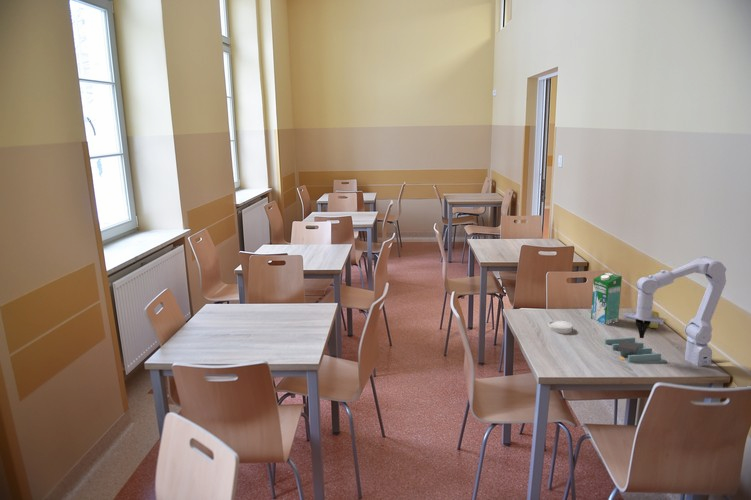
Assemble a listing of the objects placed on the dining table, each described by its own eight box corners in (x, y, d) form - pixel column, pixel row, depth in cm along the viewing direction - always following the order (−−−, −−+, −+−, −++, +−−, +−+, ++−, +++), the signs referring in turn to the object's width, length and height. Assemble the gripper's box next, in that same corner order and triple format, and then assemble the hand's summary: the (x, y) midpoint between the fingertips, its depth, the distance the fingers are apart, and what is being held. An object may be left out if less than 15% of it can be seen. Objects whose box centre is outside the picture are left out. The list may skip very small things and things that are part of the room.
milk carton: (590, 321, 266) (593, 274, 261) (603, 318, 270) (607, 271, 264) (604, 327, 258) (608, 278, 253) (618, 324, 262) (622, 275, 256)
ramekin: (552, 328, 258) (553, 318, 256) (575, 333, 251) (576, 323, 250) (543, 335, 249) (544, 325, 248) (567, 340, 242) (567, 330, 241)
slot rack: (666, 362, 218) (667, 354, 217) (625, 365, 216) (626, 357, 215) (636, 343, 238) (636, 336, 237) (598, 345, 236) (599, 338, 235)
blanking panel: (638, 343, 224) (620, 340, 228) (636, 349, 218) (618, 346, 221) (638, 347, 225) (620, 344, 228) (636, 354, 218) (617, 351, 222)
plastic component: (657, 329, 253) (659, 310, 251) (641, 329, 255) (642, 309, 253) (646, 316, 272) (647, 297, 270) (630, 315, 274) (632, 297, 272)
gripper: (665, 306, 215) (662, 337, 218) (627, 301, 223) (624, 331, 226) (663, 311, 210) (660, 343, 212) (624, 305, 217) (621, 336, 220)
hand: (641, 337), depth 219 cm, fingers closed
